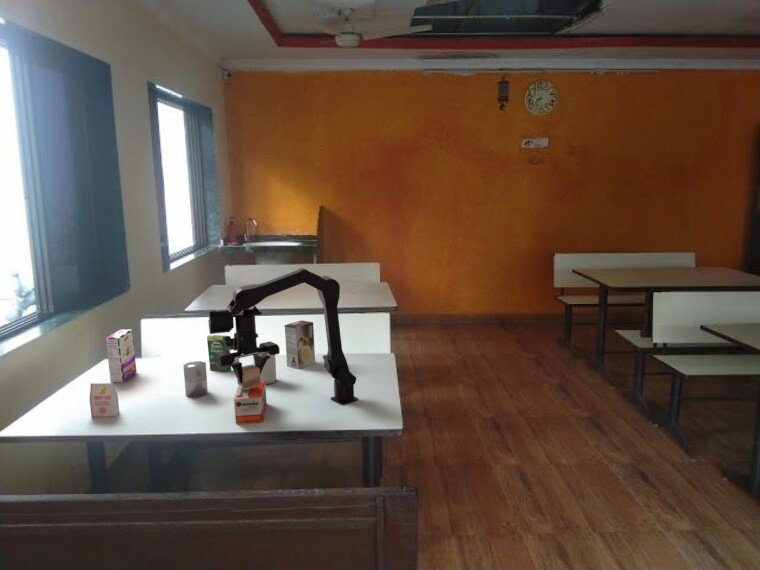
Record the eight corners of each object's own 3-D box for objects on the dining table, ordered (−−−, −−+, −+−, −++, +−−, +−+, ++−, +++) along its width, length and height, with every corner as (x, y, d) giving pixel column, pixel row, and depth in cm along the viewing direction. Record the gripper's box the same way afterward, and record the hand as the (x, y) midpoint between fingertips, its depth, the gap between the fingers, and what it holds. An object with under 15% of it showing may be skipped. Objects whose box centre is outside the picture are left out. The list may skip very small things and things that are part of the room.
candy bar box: (123, 372, 220) (119, 329, 217) (137, 372, 220) (133, 329, 217) (109, 383, 209) (104, 337, 206) (123, 382, 209) (119, 337, 206)
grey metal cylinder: (211, 394, 197) (209, 364, 195) (190, 399, 192) (188, 369, 190) (202, 388, 202) (200, 359, 200) (182, 393, 198) (180, 364, 196)
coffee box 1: (208, 370, 221) (206, 335, 218) (213, 367, 223) (211, 333, 221) (227, 372, 218) (225, 337, 216) (231, 370, 221) (229, 335, 218)
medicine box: (240, 405, 187) (239, 380, 186) (267, 403, 188) (265, 379, 187) (235, 425, 172) (233, 398, 171) (263, 423, 173) (262, 397, 172)
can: (278, 378, 211) (277, 345, 209) (273, 385, 204) (271, 351, 202) (258, 377, 212) (256, 344, 210) (251, 384, 205) (249, 351, 203)
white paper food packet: (97, 412, 183) (93, 381, 181) (119, 412, 183) (116, 381, 181) (91, 417, 179) (88, 385, 177) (114, 417, 179) (110, 385, 177)
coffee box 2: (303, 360, 231) (301, 319, 228) (315, 363, 227) (314, 322, 224) (286, 366, 224) (284, 324, 221) (298, 369, 220) (296, 327, 217)
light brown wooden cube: (260, 384, 178) (259, 368, 177) (244, 388, 175) (244, 372, 174) (252, 380, 182) (251, 364, 181) (237, 383, 179) (236, 367, 178)
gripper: (261, 320, 187) (264, 367, 190) (204, 330, 176) (208, 381, 179) (279, 326, 178) (281, 376, 181) (220, 338, 167) (223, 391, 170)
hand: (248, 381), depth 178 cm, fingers closed on light brown wooden cube, 5 cm apart
